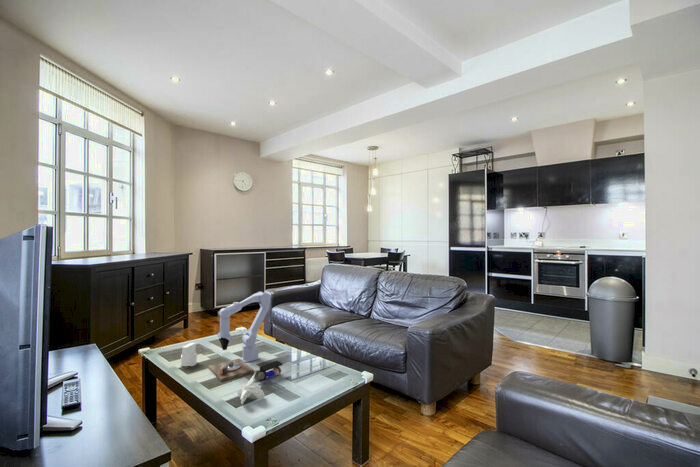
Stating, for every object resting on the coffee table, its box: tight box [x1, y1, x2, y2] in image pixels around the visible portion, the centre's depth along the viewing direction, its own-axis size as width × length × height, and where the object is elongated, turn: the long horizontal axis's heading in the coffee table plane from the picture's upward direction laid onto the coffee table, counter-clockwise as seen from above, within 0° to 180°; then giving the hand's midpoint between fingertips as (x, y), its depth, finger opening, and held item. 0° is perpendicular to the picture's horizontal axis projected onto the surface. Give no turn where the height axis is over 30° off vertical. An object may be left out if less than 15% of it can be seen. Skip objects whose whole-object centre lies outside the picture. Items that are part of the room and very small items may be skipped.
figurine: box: [237, 373, 266, 405], centre depth 160 cm, size 14×11×13 cm
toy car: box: [253, 360, 284, 383], centre depth 183 cm, size 7×8×15 cm
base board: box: [207, 358, 255, 382], centre depth 194 cm, size 19×23×5 cm
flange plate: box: [220, 362, 240, 375], centre depth 191 cm, size 16×11×3 cm
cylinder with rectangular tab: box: [180, 342, 198, 367], centre depth 203 cm, size 9×9×12 cm
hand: (224, 349), depth 202 cm, fingers closed
